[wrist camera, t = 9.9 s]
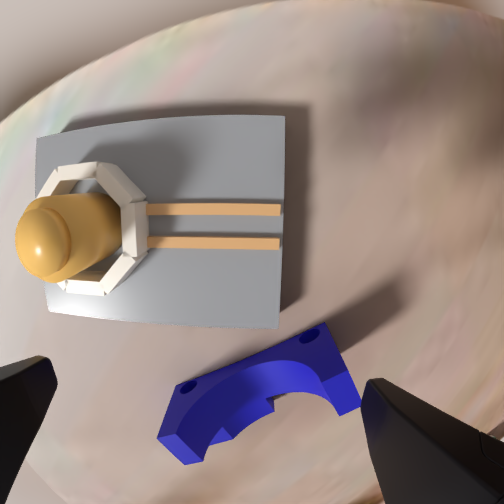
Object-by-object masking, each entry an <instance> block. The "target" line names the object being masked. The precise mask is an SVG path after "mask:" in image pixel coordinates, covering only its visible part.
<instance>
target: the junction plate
mask: <svg viewBox="0 0 504 504" xmlns="http://www.w3.org/2000/svg"><path fill="white" fill-rule="evenodd" d="M284 170H285V116H275V115H204V116H184V117H169V118H158V119H147V120H138V121H129V122H122V123H114V124H107V125H101V126H95V127H89V128H83V129H78V130H73V131H68V132H63V133H58V134H54V135H49V136H45V137H41V138H37V143H36V165H35V198H36V199H37V198H40V197H44V196H54V195H65V194H78V193H91V192H100V193H104V194H107V195H109V196H110V197H112V198H113V200H114V201H115V202H116V203H117V204H118V205H119V206H120V208H121V229H122V243H121V245H120V247H119V248H118V250H117V251H116V252H115V253H114V254H112V255H111V256H109V257H107V258H105V259H103V260H101V261H99V262H97V263H96V264H94V265H92V266H90V267H88V268H86V269H84V270H82V271H81V272H79V273H77V274H75V275H73V276H71V277H70V278H68V279H66V280H64V281H62V282H58V283H49V282H46V281H44V280H43V283H44V289H45V294H46V300H47V305H48V310H49V311H51V312H57V313H64V314H71V315H78V316H86V317H94V318H102V319H111V320H121V321H131V322H141V323H153V324H166V325H181V326H198V327H220V328H257V329H278V328H279V310H280V291H281V269H282V243H283V213H284Z"/></svg>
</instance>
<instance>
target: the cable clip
mask: <svg viewBox="0 0 504 504" xmlns="http://www.w3.org/2000/svg"><path fill="white" fill-rule="evenodd" d="M290 392H307V393H312V394H316V395H319V396H321V397H323V398H325V399H326V400H328V401H329V402H330V403H331V404H332V405H333V406H334V408H335V410H336V411H337V413H338V415H339V416H341V415H344V414H346V413H348V412H350V411H352V410H354V409H356V408H359V407H361V401H362V400H361V398H360V396H359V394H358V391H357V389H356V387H355V385H354V382H353V380H352V378H351V376H350V374H349V371H348V369H347V367H346V365H345V363H344V361H343V359H342V357H341V355H340V352H339V350H338V348H337V346H336V344H335V342H334V340H333V338H332V336H331V334H330V332H329V330H328V328H327V326H326V324H325V322H323V323H321V324H319V325H317V326H315V327H313V328H311V329H309V330H307V331H305V332H303V333H301V334H299V335H297V336H295V337H293V338H290V339H288V340H286V341H284V342H282V343H280V344H277V345H275V346H273V347H271V348H269V349H266V350H264V351H262V352H259V353H257V354H255V355H253V356H250V357H248V358H245V359H243V360H241V361H238V362H236V363H234V364H231V365H229V366H226V367H224V368H221V369H219V370H216V371H214V372H211V373H208V374H206V375H203V376H201V377H198V378H195V379H193V380H190V381H187V382H184V383H182V384H179V385H176V387H175V389H174V392H173V395H172V398H171V400H170V403H169V406H168V408H167V411H166V414H165V417H164V419H163V422H162V425H161V428H160V430H159V433H158V436H157V439H158V440H159V441H160V442H161V443H162V444H163V445H164V446H165V447H166V448H167V449H168V450H169V451H170V452H171V453H172V454H173V455H174V456H175V457H176V458H177V459H178V460H180V461H181V462H182V463H183V464H184V465H188V464H193V463H198V462H202V461H204V456H205V453H206V451H207V448H208V446H209V445H213V444H217V443H221V442H224V441H228V440H231V439H234V438H235V437H236V436H237V435H238V434H239V433H240V432H241V431H242V430H243V429H245V428H246V427H247V426H249V425H250V424H251V423H253V422H254V421H256V420H258V419H260V418H261V417H263V416H265V415H268V414H270V413H272V412H275V411H274V400H273V399H272V396H275V395H279V394H283V393H290Z"/></svg>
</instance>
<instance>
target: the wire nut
mask: <svg viewBox="0 0 504 504" xmlns="http://www.w3.org/2000/svg"><path fill="white" fill-rule="evenodd" d="M15 243H16V250H17V253H18V256H19V259H20V261H21V263H22V264H23V266H24V267H25V268H26V269H27V271H29V272H30V273H31V274H32V275H34V276H37V277H39V278H40V279H42V280H44V281H46V282H49V283H58V282H62V281H64V280H66V279H68V278H70V277H71V276H73V275H75V274H77V273H79V272H81V271H82V270H84V269H86V268H88V267H90V266H92V265H94V264H96V263H97V262H99V261H101V260H103V259H105V258H107V257H109V256H111V255H112V254H114V253H115V252H116V251H117V250H118V248H119V247H120V245H121V243H122V229H121V208H120V206H119V205H118V204H117V203H116V202H115V201H114V200H113V198H112V197H110V196H109V195H107V194H104V193H100V192H91V193H78V194H65V195H54V196H44V197H40V198H37V199H35V200H34V201H33V202H31V203H30V204H29V206H28V207H27V208H26V210H25V212H24V214H23V216H22V217H21V218H20V220H19V222H18V225H17V228H16V234H15Z"/></svg>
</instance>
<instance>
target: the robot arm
mask: <svg viewBox="0 0 504 504" xmlns="http://www.w3.org/2000/svg"><path fill="white" fill-rule="evenodd" d="M57 385H58V382H57V378H56V375H55V372H54V369H53V366H52V363H51V361H50V359H49V358H47V357H43V356H39V355H38V356H34V357H31V358H28V359H25V360H22V361H19V362H15V363H12V364H9V365H6V366H3V367H0V504H5V502H6V500H7V497H8V495H9V493H10V490H11V488H12V485H13V483H14V481H15V478H16V476H17V474H18V472H19V470H20V467H21V465H22V463H23V461H24V459H25V457H26V455H27V453H28V451H29V448H30V446H31V444H32V442H33V440H34V438H35V436H36V434H37V433H38V431H39V429H40V427H41V424H42V422H43V420H44V417H45V415H46V412H47V410H48V408H49V405H50V403H51V400H52V398H53V396H54V393H55V391H56V389H57ZM361 414H362V418H363V423H364V428H365V433H366V438H367V443H368V448H369V453H370V457H371V460H372V463H373V466H374V469H375V472H376V476H377V479H378V482H379V485H380V488H381V491H382V494H383V498H384V501H385V504H504V442H502V441H500V440H498V439H495V438H493V437H491V436H489V435H487V434H485V433H483V432H479V430H477V429H475V428H473V427H471V426H470V425H468V424H466V423H464V422H462V421H460V420H458V419H456V418H454V417H452V416H451V415H449V414H447V413H445V412H443V411H441V410H439V409H437V408H436V407H434V406H432V405H430V404H428V403H427V402H425V401H423V400H421V399H419V398H417V397H416V396H414V395H412V394H410V393H409V392H407V391H405V390H403V389H401V388H400V387H398V386H396V385H394V384H393V383H391V382H389V381H387V380H386V379H384V378H375V379H369V380H368V381H367V383H366V386H365V390H364V393H363V397H362V401H361Z"/></svg>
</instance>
